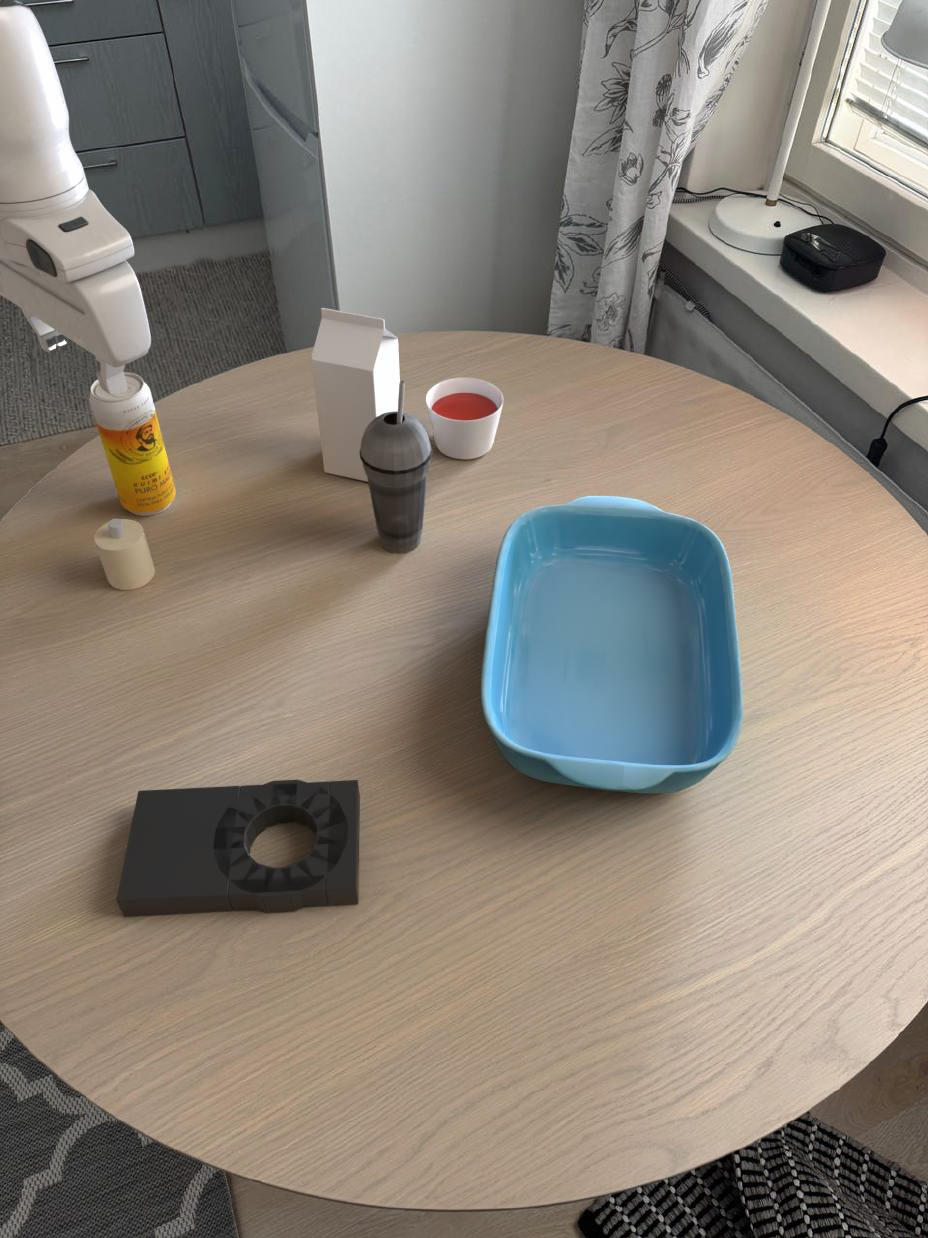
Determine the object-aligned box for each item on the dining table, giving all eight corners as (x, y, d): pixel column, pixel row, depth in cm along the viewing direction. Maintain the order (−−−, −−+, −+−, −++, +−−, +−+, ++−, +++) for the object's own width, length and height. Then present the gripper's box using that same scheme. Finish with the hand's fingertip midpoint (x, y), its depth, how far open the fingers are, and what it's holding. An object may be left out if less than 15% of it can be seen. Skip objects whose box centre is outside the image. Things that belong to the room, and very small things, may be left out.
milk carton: (380, 485, 114) (370, 335, 100) (324, 473, 116) (306, 324, 102) (403, 451, 119) (396, 303, 105) (348, 439, 120) (334, 292, 107)
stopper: (103, 591, 102) (85, 539, 97) (112, 559, 105) (95, 508, 100) (151, 589, 102) (135, 537, 97) (158, 558, 105) (143, 506, 100)
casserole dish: (504, 534, 108) (506, 482, 103) (712, 551, 106) (725, 498, 101) (465, 823, 83) (465, 772, 77) (738, 851, 81) (757, 801, 76)
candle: (412, 449, 119) (410, 403, 114) (455, 413, 124) (455, 369, 120) (474, 475, 115) (474, 430, 111) (516, 438, 121) (518, 393, 116)
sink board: (123, 921, 76) (115, 905, 74) (145, 804, 84) (138, 787, 82) (358, 908, 77) (356, 892, 75) (360, 793, 85) (357, 776, 83)
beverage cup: (394, 509, 111) (385, 348, 97) (447, 534, 108) (446, 372, 94) (352, 544, 107) (336, 382, 93) (406, 571, 104) (398, 408, 90)
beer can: (149, 525, 109) (115, 409, 98) (110, 506, 111) (73, 390, 100) (188, 496, 112) (160, 381, 102) (150, 478, 115) (118, 363, 104)
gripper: (-64, 191, 82) (-8, 341, 92) (71, 270, 73) (118, 429, 83) (5, 169, 86) (52, 316, 96) (144, 242, 76) (181, 397, 86)
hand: (84, 369), depth 89 cm, fingers open, 8 cm apart
